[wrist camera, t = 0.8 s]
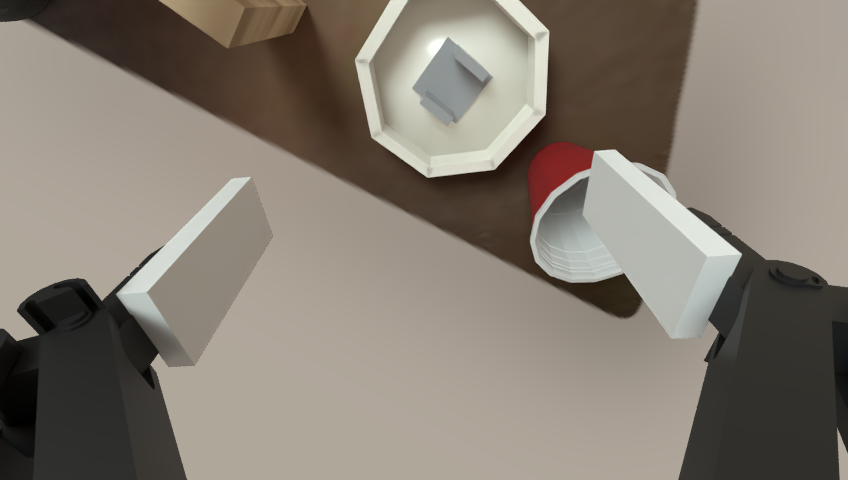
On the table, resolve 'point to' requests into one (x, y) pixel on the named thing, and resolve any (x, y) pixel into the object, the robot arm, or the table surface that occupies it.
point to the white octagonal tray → (454, 81)
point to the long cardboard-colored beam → (240, 18)
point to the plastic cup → (570, 214)
